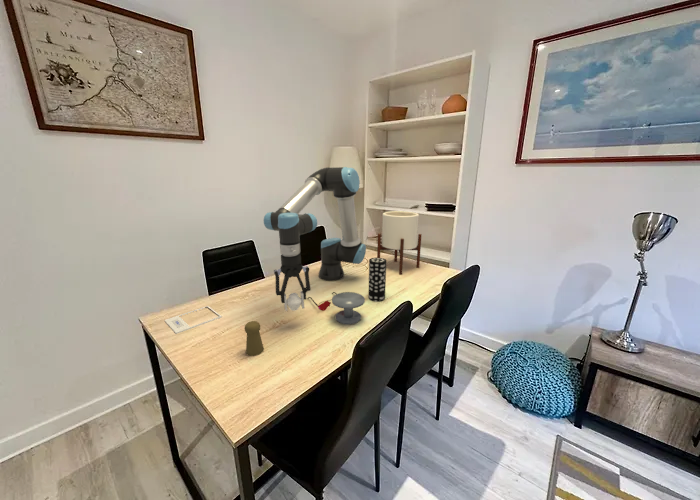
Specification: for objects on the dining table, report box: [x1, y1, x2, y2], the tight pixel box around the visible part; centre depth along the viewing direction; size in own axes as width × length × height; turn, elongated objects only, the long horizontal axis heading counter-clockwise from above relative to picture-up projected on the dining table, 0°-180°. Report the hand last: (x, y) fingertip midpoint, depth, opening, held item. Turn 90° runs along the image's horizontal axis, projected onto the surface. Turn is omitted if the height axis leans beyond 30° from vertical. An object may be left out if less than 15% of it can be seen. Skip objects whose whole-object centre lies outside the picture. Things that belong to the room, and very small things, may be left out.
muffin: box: [286, 292, 302, 311], centre depth 114 cm, size 6×6×7 cm
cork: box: [244, 320, 265, 357], centre depth 99 cm, size 6×6×11 cm
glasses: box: [306, 291, 338, 312], centre depth 138 cm, size 14×16×5 cm
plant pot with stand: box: [376, 210, 422, 276], centre depth 183 cm, size 22×22×36 cm
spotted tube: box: [368, 257, 387, 303], centre depth 140 cm, size 8×8×20 cm
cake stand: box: [331, 291, 366, 325], centre depth 122 cm, size 14×14×9 cm
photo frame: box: [164, 305, 223, 335], centre depth 122 cm, size 15×1×18 cm
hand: (294, 308), depth 115 cm, fingers closed on muffin, 6 cm apart
